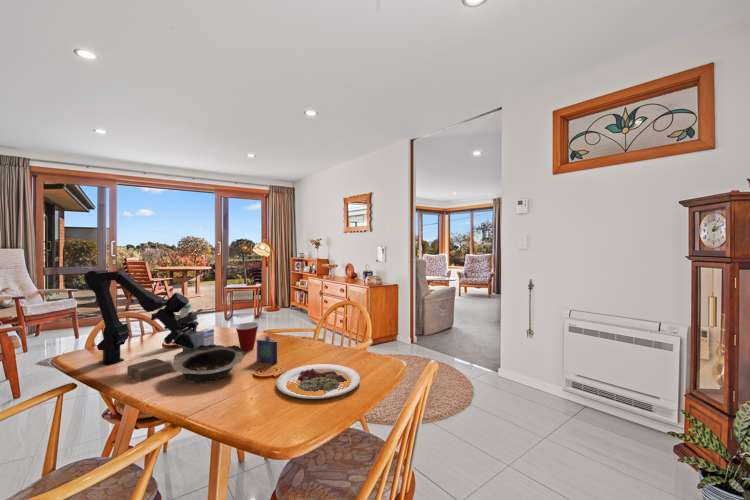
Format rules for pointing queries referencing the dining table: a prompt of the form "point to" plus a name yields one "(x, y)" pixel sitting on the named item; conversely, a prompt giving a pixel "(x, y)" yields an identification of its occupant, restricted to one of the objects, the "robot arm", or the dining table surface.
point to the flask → (267, 350)
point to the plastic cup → (247, 335)
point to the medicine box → (208, 337)
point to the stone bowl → (207, 362)
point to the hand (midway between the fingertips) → (196, 345)
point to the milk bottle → (185, 312)
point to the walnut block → (148, 369)
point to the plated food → (318, 380)
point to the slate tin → (195, 339)
